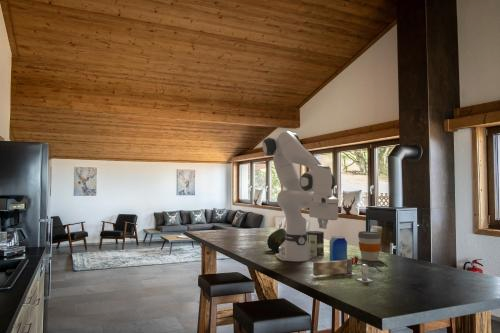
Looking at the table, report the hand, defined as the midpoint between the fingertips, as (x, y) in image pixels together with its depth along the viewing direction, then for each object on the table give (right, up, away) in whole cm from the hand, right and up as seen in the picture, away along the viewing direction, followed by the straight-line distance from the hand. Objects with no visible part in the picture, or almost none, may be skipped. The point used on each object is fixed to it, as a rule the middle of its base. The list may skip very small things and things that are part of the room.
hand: (322, 228), depth 179 cm
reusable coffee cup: (+33, -23, +35) cm, 53 cm away
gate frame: (+14, -21, -8) cm, 26 cm away
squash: (-16, -24, +59) cm, 66 cm away
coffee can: (+4, -24, +43) cm, 50 cm away
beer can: (+9, -22, +8) cm, 25 cm away
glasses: (+26, -23, +14) cm, 37 cm away
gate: (+4, -20, -5) cm, 21 cm away
